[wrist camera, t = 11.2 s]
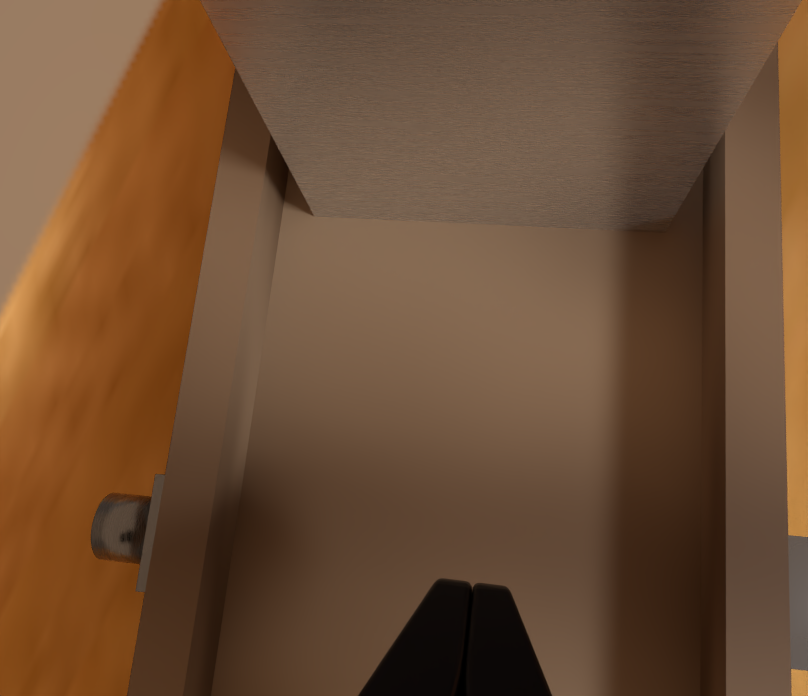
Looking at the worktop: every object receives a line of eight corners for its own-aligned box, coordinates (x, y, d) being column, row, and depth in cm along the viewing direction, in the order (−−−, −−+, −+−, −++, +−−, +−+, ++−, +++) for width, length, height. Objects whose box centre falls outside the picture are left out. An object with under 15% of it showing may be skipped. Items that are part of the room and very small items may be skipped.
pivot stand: (813, 1404, 12) (925, 1701, 9) (49, 1225, 13) (-77, 1425, 10) (787, 39, 17) (850, -63, 14) (246, 29, 19) (202, -65, 16)
